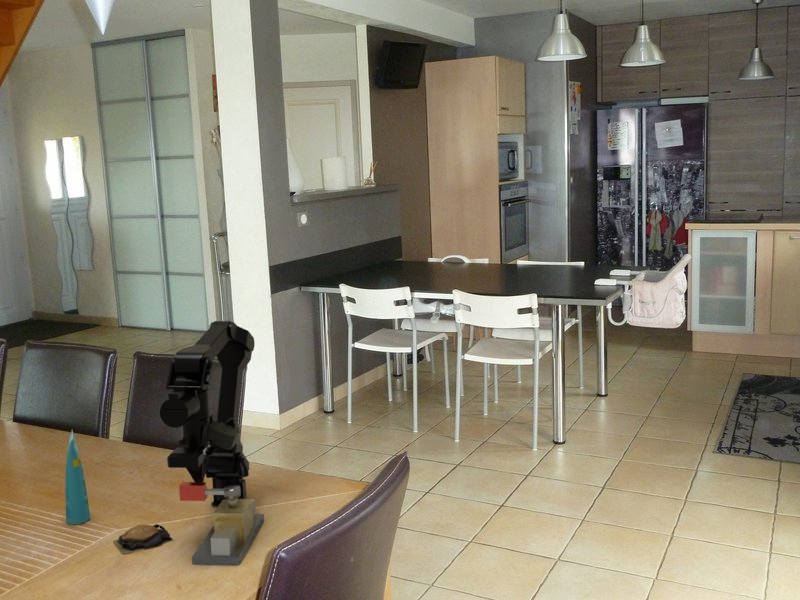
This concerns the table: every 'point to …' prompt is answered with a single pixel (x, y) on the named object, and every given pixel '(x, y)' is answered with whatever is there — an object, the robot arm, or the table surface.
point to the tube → (75, 486)
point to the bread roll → (142, 538)
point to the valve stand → (229, 533)
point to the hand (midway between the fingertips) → (199, 485)
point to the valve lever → (205, 491)
